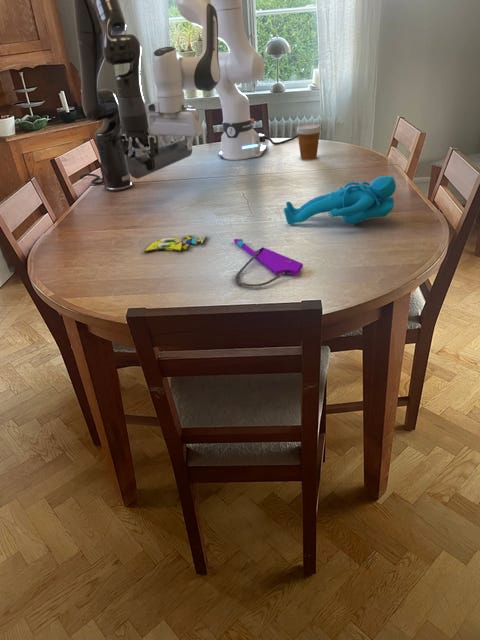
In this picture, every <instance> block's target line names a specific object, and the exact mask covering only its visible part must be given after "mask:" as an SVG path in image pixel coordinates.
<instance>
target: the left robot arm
mask: <svg viewBox="0 0 480 640" xmlns="http://www.w3.org/2000/svg"><path fill="white" fill-rule="evenodd" d="M72 4H73V14H74V27H75V34H76V35H75V36H76V43H77V50H78V56H79V57H78V58H79V69H80V88H81V89H80V91H81V106H82V110H83V113H84V115H85V117H86V118H87V120H88V121H90V122H99V121H102V124H101V126H100V127H99V128H97V130H96V131H95V132H94V139H95V143H96V147H97V153H98V156H99V160H100V162H99V163H98V164H99V168H100V173H101V176H100V175H99V174H95V173H84V174H83V173H82V174H81V175H80V176H79V180H81V179H83V178H84V177H94V178H93V179H92V180H91V181H90V183H91V184H93V185H102V184H103V185H104V189H106V190H107V191H111V192H120V191H124V190H127V189H130V188H132V187H133V184H132V179H131V175H130V173H129V171H128V168H127V163H128V160H127V156H128V158H129V160H130V159H132V158H135V157H137V156H138V155H137V152H138V150H141V152H142V154H145V155H146V157H147V163H148V169H149V171H153V170H155V161H154V157H155V156H158V155H159V150H158V148H159V138H158V137H159V136H158V135H155V134H154V135H150V133H149V126H148V119H147V116H148V113H147V109H146V102H145V99H144V96H143V91H142V85H141V75H140V73H141V72H140V71H141V58H142V57H141V56H142V47H141V42H140V40H139V38H138V37H137V36H136V35H135V34H132V33H125V30H126V27H127V24H126V20H125V17H124V13H123V11H122V8H121V4H120V2H119V0H72ZM123 33H124V34H123ZM104 62H107V63H108V64H109V65H111V66H119V65H125V64H129V65H128V69H127V70H126V71H124V72H121V73H119V74H117V75H116V76H115V77H114V83H115V88H116V94H117V95H116V94H115V93H114V91H112V90H111V89H109V88H101V89H99V83H98V82H99V75H100V72H101V69H102V66H103V64H104ZM116 96H117V97H116ZM122 131H124V132H125V133H123V132H122ZM154 150H155V152H154ZM148 152H149V153H150V154H149V153H148ZM101 177H102V178H101ZM99 180H101V181H99Z"/></svg>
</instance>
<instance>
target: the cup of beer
mask: <svg viewBox="0 0 480 640" xmlns="http://www.w3.org/2000/svg"><path fill="white" fill-rule="evenodd" d="M321 130H322V128H321V125H320V124H317V123H305V124H300V125H298V126H297V129H296V133H297V135H298V137H297V140H298V146H299V153H300V155H299V156H300V159H302V160H304V161H310V160H311V161H312V160H315V159H317V158H318V157H317V156H318V149H319V141H320V133H321Z"/></svg>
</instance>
